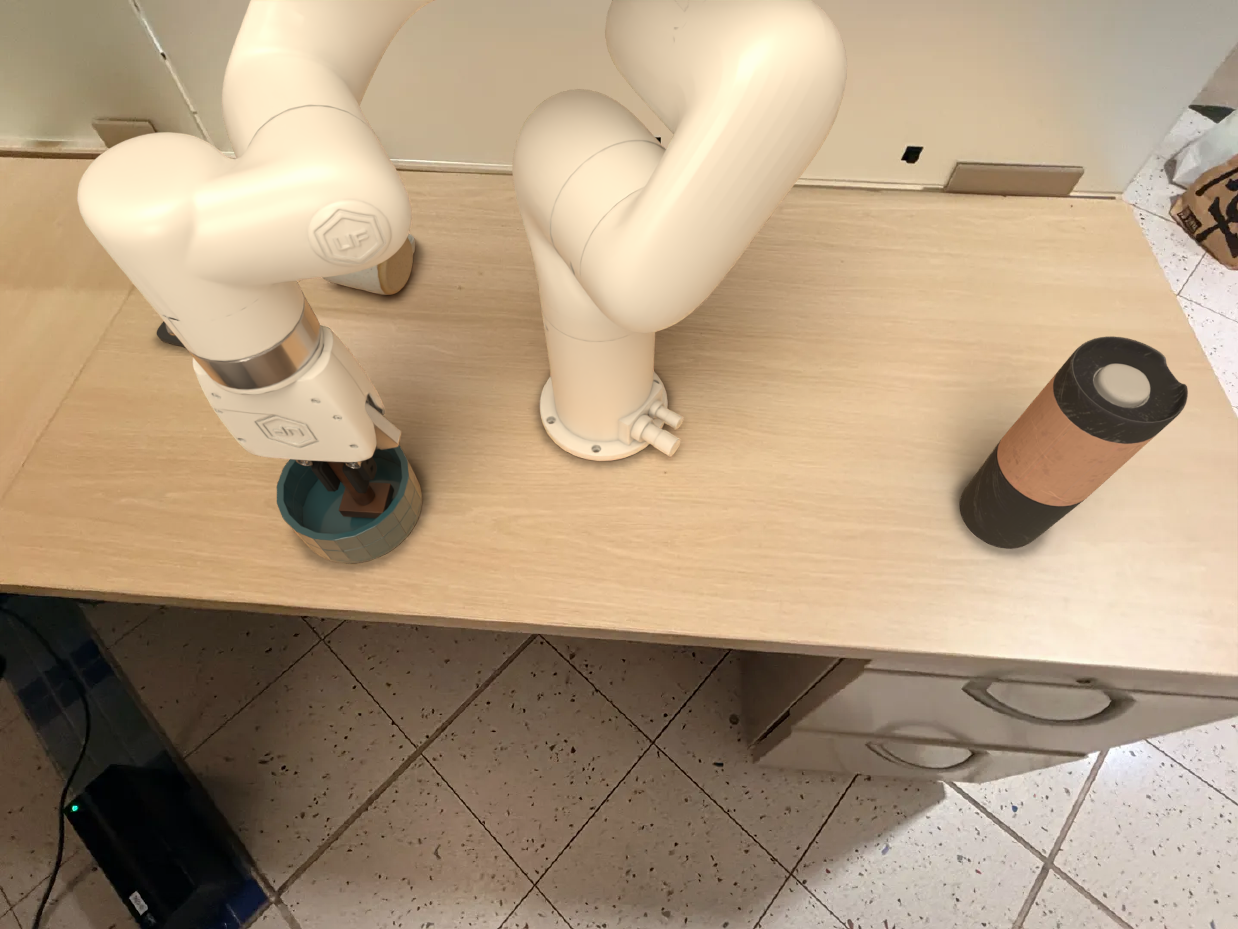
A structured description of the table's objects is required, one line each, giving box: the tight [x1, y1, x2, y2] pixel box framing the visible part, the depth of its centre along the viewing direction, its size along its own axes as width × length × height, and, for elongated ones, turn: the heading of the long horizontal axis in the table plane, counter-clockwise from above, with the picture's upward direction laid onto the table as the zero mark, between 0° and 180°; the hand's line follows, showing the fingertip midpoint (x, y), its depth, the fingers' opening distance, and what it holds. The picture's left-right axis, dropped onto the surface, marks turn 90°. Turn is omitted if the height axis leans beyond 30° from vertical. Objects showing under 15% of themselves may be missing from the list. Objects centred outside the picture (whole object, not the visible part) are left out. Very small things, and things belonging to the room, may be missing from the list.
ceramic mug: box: [322, 233, 416, 296], centre depth 79 cm, size 11×8×8 cm
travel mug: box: [959, 335, 1189, 549], centre depth 58 cm, size 8×8×20 cm
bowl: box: [276, 444, 423, 564], centre depth 65 cm, size 11×11×5 cm
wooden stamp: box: [327, 461, 394, 518], centre depth 61 cm, size 4×3×10 cm
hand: (351, 476), depth 62 cm, fingers closed on wooden stamp
